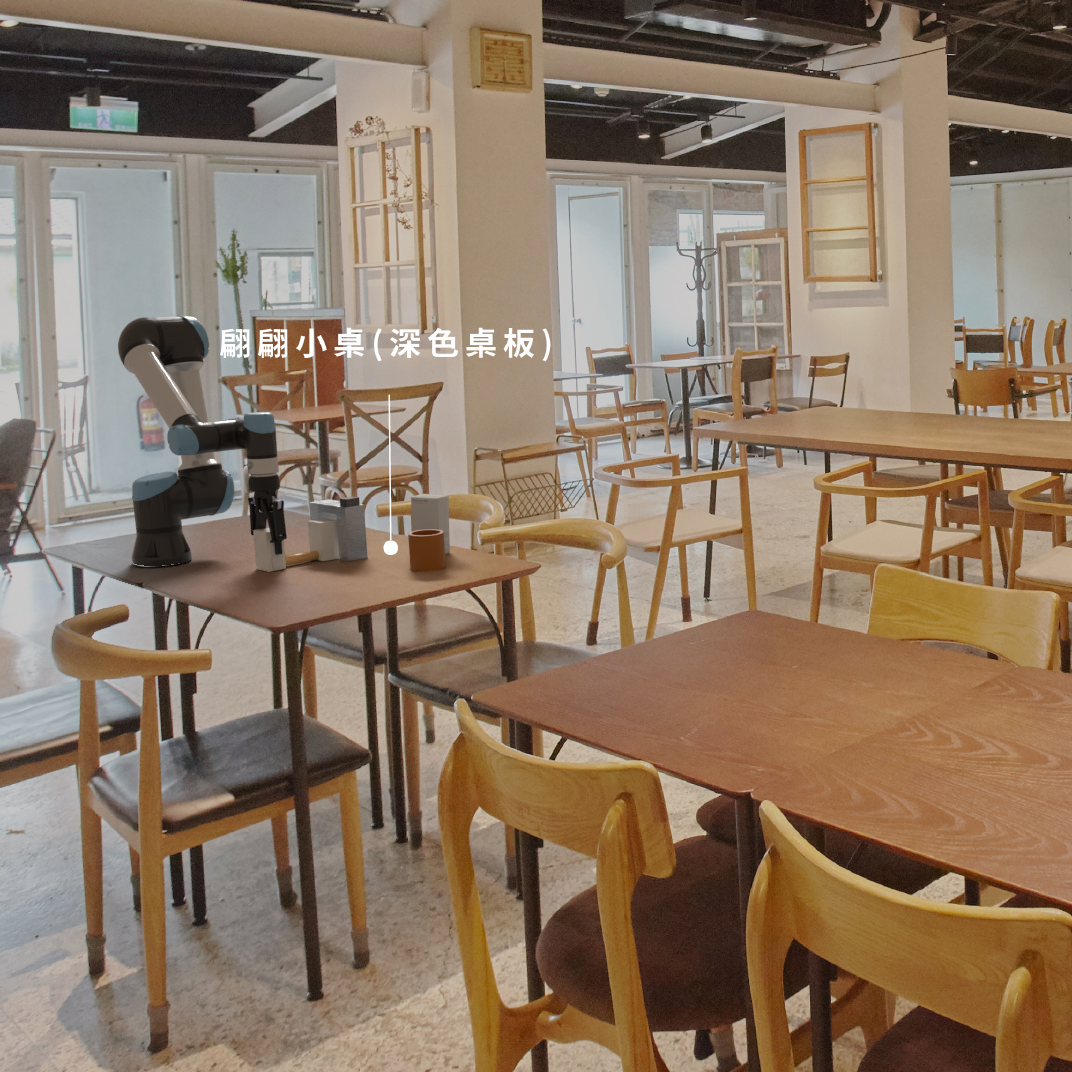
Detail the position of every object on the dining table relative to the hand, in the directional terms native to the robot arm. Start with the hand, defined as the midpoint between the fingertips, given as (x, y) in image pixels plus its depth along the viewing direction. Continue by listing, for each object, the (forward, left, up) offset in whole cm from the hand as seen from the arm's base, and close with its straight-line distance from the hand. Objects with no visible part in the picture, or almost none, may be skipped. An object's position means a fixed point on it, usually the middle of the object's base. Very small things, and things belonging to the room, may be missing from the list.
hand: (270, 565), depth 307 cm
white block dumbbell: (0, +8, -1) cm, 8 cm away
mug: (+31, +27, -1) cm, 41 cm away
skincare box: (+19, +37, -1) cm, 41 cm away
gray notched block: (0, +21, -1) cm, 21 cm away
